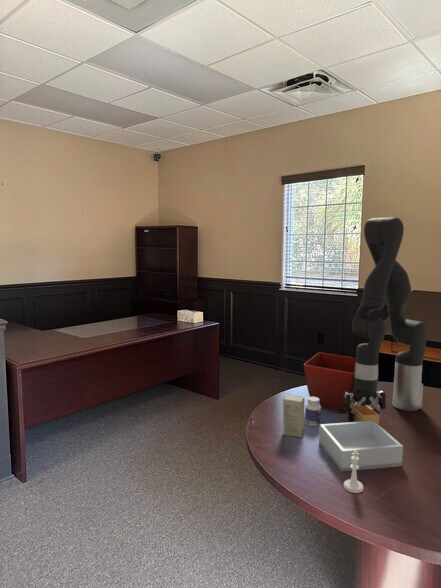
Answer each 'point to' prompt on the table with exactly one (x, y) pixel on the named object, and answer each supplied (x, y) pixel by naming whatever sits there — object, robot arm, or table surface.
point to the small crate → (365, 414)
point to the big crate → (360, 445)
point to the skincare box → (293, 415)
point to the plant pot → (330, 379)
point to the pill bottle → (313, 411)
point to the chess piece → (354, 477)
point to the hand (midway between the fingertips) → (363, 421)
